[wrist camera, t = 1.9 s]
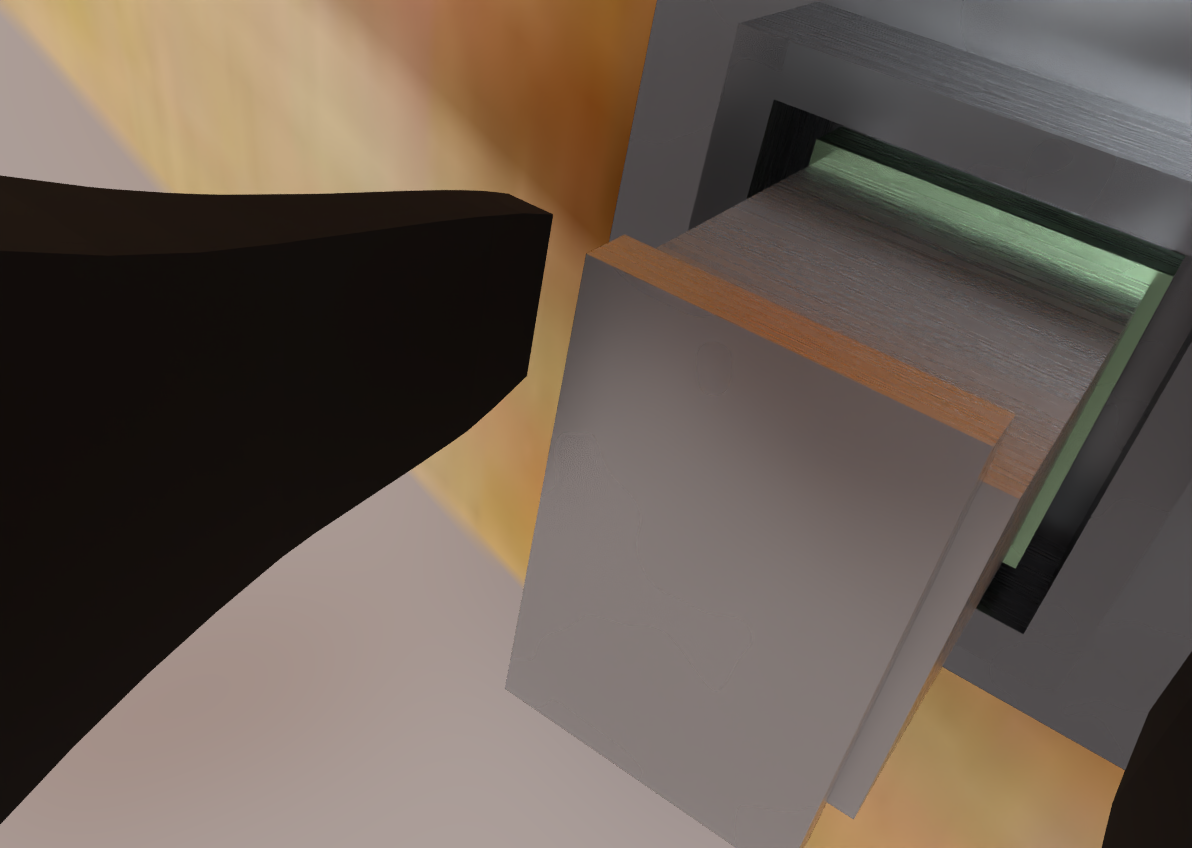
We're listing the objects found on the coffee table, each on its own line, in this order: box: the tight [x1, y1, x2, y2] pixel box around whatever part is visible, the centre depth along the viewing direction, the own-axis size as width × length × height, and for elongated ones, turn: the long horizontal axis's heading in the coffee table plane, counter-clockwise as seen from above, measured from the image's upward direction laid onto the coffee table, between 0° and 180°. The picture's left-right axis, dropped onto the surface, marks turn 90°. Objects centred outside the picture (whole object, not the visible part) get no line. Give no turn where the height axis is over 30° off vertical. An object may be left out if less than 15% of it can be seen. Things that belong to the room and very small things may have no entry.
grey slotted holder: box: [609, 0, 1192, 770], centre depth 12 cm, size 10×10×5 cm
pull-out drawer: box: [505, 127, 1185, 848], centre depth 11 cm, size 4×5×6 cm
